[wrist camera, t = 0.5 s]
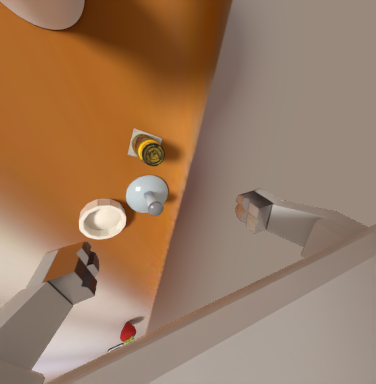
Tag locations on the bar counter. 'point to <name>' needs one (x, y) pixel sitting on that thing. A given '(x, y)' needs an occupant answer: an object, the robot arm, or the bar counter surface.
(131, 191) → the lid
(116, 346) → the cell phone
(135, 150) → the condiment
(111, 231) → the bowl
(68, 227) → the bar counter surface
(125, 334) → the strawberry
